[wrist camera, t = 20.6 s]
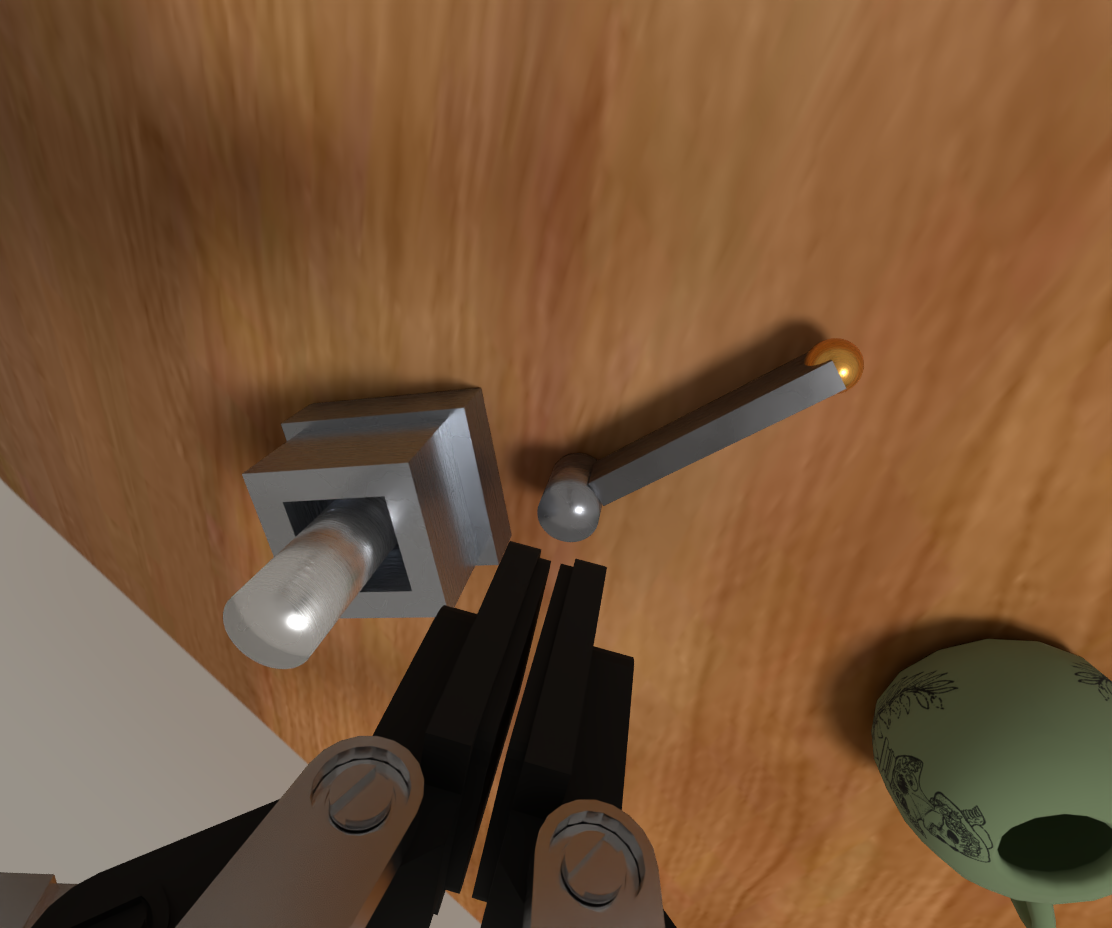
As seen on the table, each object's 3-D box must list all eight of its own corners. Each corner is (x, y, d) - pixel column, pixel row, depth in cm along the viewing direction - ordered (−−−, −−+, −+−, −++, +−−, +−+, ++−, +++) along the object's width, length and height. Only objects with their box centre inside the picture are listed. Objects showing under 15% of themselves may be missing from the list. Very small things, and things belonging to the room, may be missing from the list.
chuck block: (310, 403, 35) (218, 465, 28) (481, 388, 33) (427, 450, 26) (355, 541, 39) (283, 626, 32) (511, 535, 37) (471, 625, 30)
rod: (348, 469, 33) (207, 594, 23) (410, 460, 32) (291, 586, 22) (370, 529, 34) (246, 671, 25) (430, 522, 34) (327, 666, 24)
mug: (850, 633, 36) (898, 762, 28) (1121, 607, 32) (1259, 746, 25) (873, 824, 42) (917, 974, 34) (1103, 819, 38) (1210, 984, 31)
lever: (835, 312, 28) (858, 334, 25) (862, 368, 29) (888, 397, 26) (541, 468, 34) (525, 504, 31) (571, 511, 35) (559, 551, 32)
